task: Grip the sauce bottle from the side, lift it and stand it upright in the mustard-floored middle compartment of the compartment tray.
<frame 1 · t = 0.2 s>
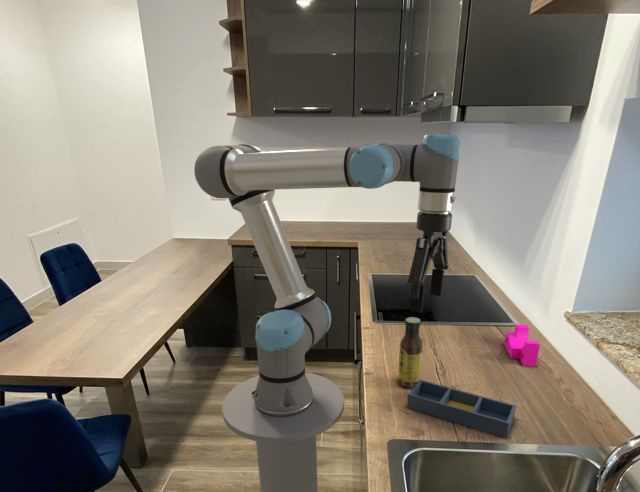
hand: (426, 303, 106), 28 cm above the counter, tool pointing down, fingers open, 13 cm apart
toy block: (519, 355, 144), on the counter
sauce bottle: (408, 383, 127), on the counter
compartment tray: (459, 413, 113), on the counter
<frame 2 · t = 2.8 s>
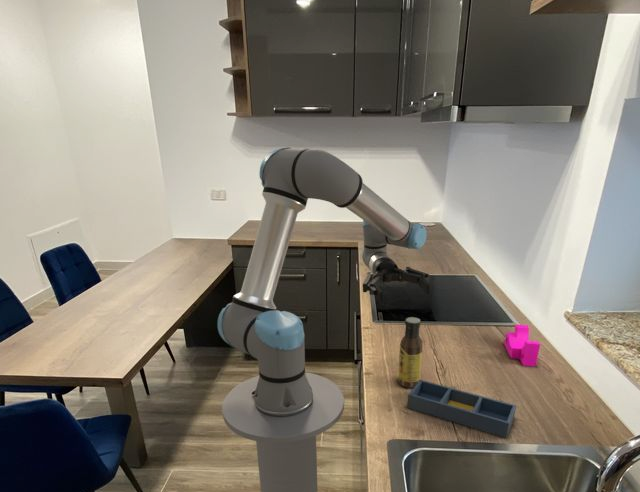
hand: (405, 293, 123), 25 cm above the counter, tool horizontal, fingers open, 13 cm apart
nothing on the counter moved.
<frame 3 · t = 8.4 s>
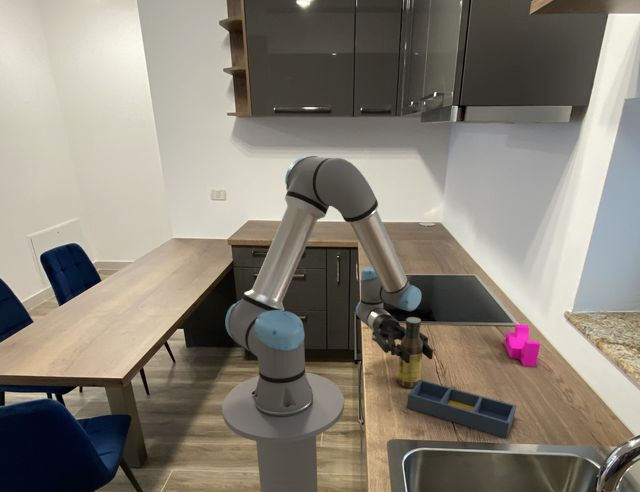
hand: (420, 356, 118), 11 cm above the counter, tool horizontal, fingers closed on sauce bottle, 6 cm apart
sauce bottle: (408, 383, 127), on the counter, touching gripper
everything else where it was.
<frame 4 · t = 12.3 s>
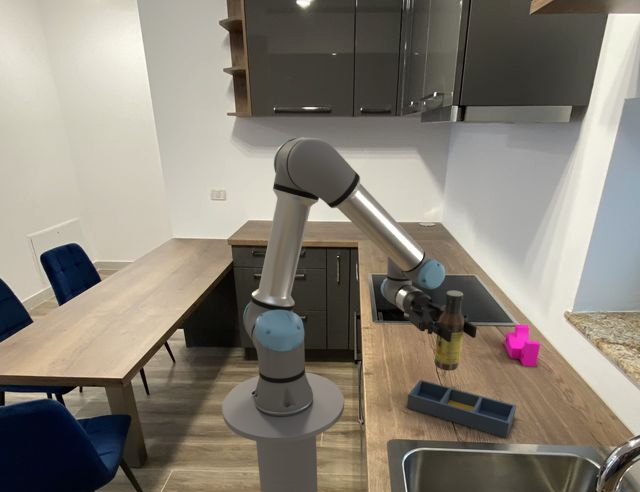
hand: (462, 334, 105), 22 cm above the counter, tool horizontal, fingers closed on sauce bottle, 6 cm apart
sauce bottle: (445, 366, 114), point 11 cm above the counter, touching gripper
everything else where it was.
when the fingers open (12 cm above the counter, at t = 16.2 s): sauce bottle stays where it is, resting on compartment tray.
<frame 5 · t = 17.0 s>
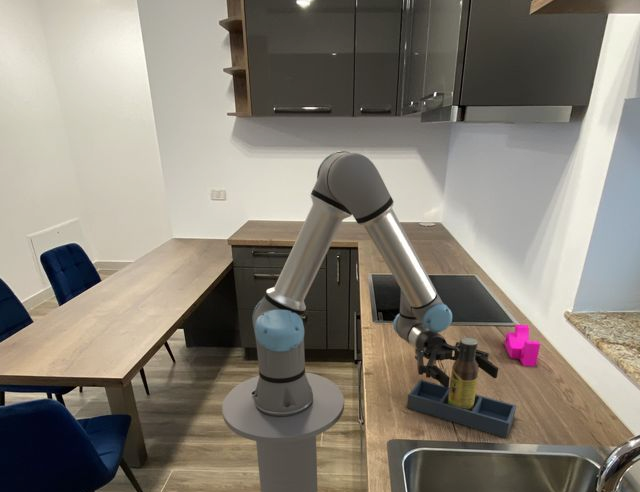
hand: (472, 378, 106), 12 cm above the counter, tool horizontal, fingers open, 13 cm apart
sauce bottle: (459, 411, 113), point 1 cm above the counter, touching compartment tray
everything else where it was.
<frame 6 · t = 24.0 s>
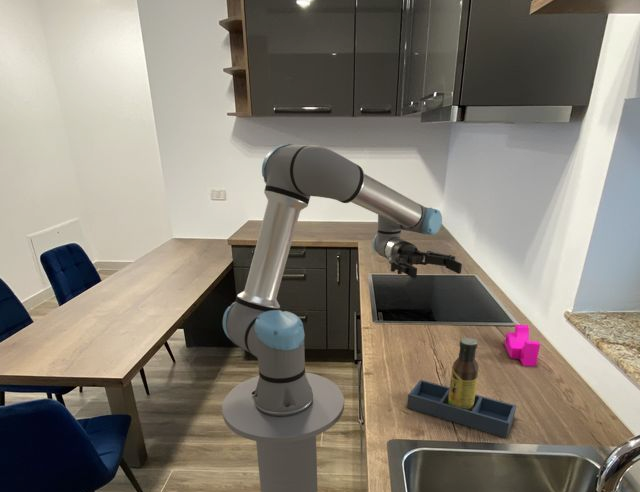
hand: (438, 271, 118), 32 cm above the counter, tool horizontal, fingers open, 13 cm apart
nothing on the counter moved.
at the end: sauce bottle 0.0 cm off-centre in the compartment tray, point 0.6 cm above the compartment tray's base; sauce bottle tilted 0°; the gripper is holding nothing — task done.
